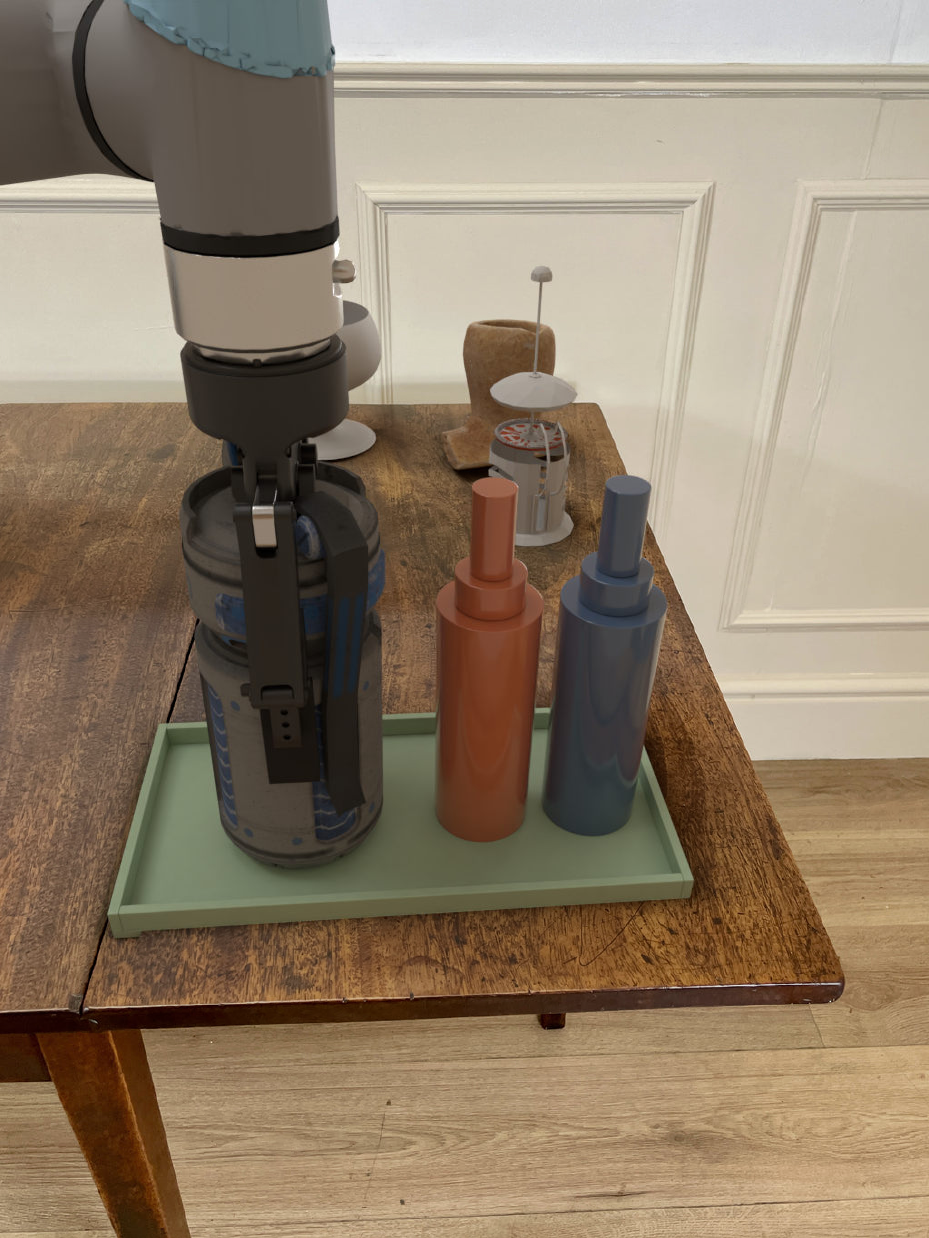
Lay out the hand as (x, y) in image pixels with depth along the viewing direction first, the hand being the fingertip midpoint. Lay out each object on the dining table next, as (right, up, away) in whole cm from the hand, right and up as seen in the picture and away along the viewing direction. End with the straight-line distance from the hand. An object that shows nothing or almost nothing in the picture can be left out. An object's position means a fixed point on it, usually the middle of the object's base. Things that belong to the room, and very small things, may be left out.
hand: (300, 713), depth 55 cm
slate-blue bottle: (+18, -6, +7) cm, 20 cm away
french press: (+16, +15, +39) cm, 45 cm away
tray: (+6, -7, +6) cm, 11 cm away
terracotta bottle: (+11, -7, +6) cm, 14 cm away
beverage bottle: (0, -8, +4) cm, 9 cm away
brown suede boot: (+13, +25, +54) cm, 61 cm away
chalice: (-7, +26, +56) cm, 62 cm away
